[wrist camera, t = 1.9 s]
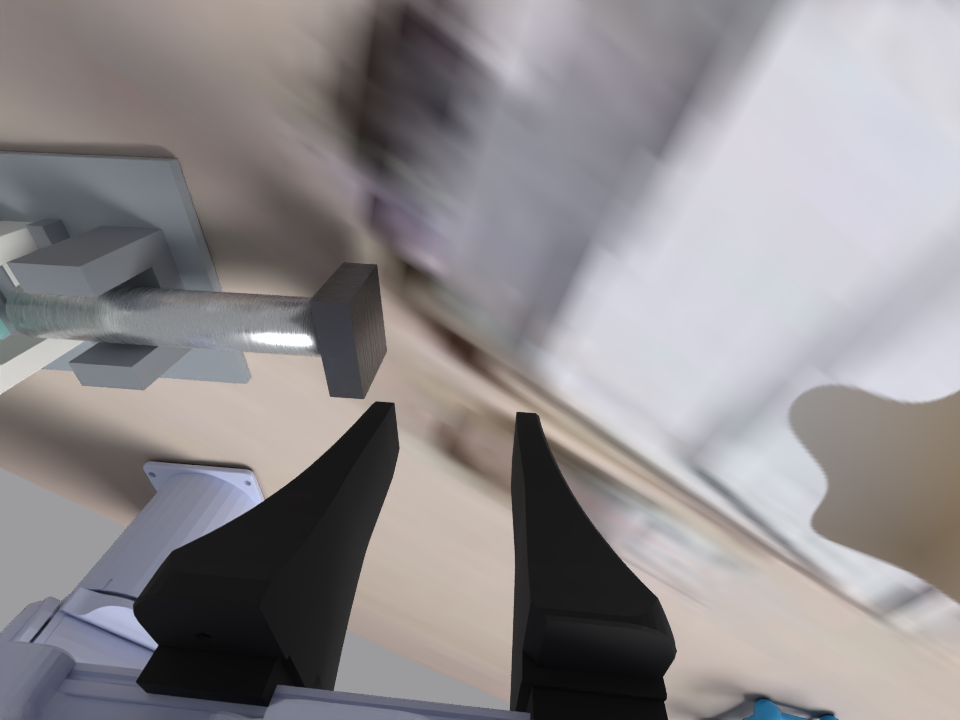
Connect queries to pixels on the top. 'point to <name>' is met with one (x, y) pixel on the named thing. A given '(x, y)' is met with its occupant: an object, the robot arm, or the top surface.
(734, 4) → the top surface
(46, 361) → the spacer
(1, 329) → the frame
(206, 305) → the shaft
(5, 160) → the jig
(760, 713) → the molecular structure
